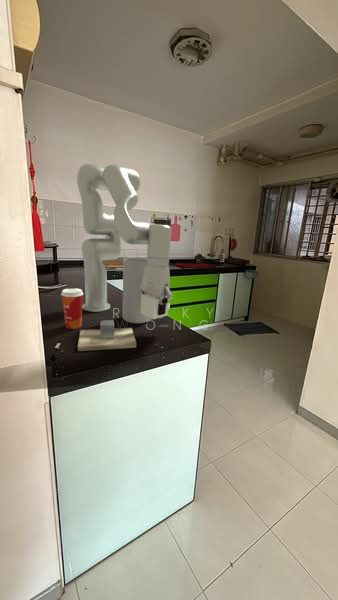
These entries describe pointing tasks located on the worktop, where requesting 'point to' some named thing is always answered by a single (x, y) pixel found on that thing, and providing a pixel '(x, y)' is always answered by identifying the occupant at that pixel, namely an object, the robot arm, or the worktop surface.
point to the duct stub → (107, 329)
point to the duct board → (106, 340)
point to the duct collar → (151, 306)
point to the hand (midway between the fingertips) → (154, 310)
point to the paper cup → (72, 307)
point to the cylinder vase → (133, 290)
